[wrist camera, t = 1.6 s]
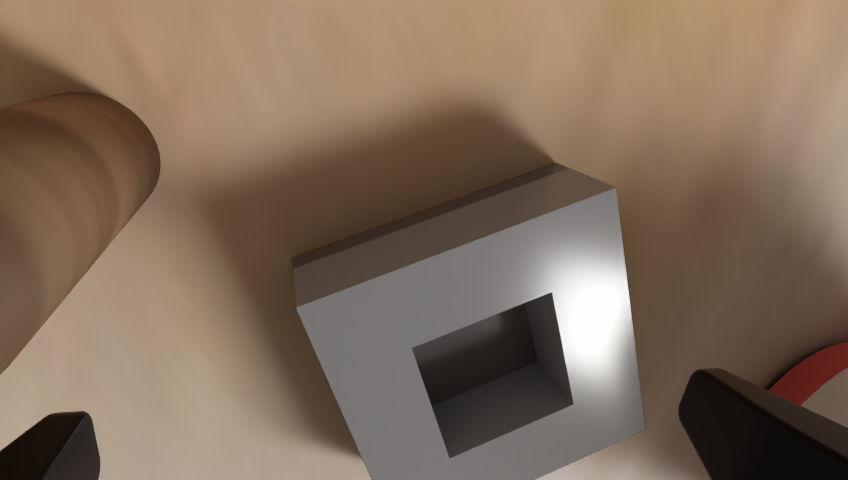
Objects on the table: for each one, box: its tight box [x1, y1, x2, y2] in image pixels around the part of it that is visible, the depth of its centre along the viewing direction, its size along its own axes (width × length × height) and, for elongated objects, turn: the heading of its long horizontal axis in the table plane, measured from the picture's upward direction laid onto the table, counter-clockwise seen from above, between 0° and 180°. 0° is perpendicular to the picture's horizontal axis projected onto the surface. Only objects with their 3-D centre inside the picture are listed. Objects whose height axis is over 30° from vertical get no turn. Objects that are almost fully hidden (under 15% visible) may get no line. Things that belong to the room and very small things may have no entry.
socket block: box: [292, 163, 645, 480], centre depth 20 cm, size 11×11×4 cm
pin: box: [0, 92, 160, 374], centre depth 12 cm, size 4×4×10 cm
